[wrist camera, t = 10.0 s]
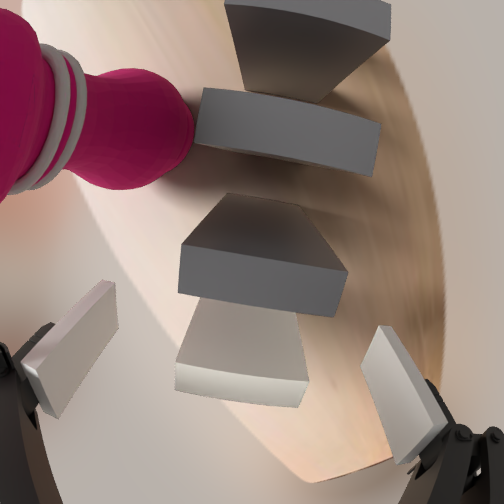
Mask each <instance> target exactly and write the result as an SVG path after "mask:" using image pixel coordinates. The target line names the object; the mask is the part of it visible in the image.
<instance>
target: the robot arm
mask: <svg viewBox="0 0 504 504" xmlns="http://www.w3.org/2000/svg"><path fill="white" fill-rule="evenodd" d="M118 329H119V328H118V318H117V306H116V289H115V283H114V282H110V281H105V280H101V281H100V282H99V283H98V284H97V285H96V286H95V287H94V288H93V289H92V290H90V291H89V292H88V293H87V294H86V295H85V296H84V297H83V298H82V299H81V300H80V301H79V302H78V303H77V304H76V305H75V306H74V307H72V309H70V310H69V311H68V312H67V314H65V315H64V316H63V317H62V318H61V319H60V320H59V321H58V323H56V324H54V323H51V322H50V323H48V324H46V325H45V326H43V327H41V328H40V329H39V330H38V331H37V332H36V333H35V335H33V336H32V337H31V338H30V339H29V341H27V342H26V343H25V344H24V345H23V346H22V347H21V348H20V349H19V350H18V351H17V352H16V353H15V355H14V356H13V357H12V358H11V355H10V353H9V350H8V347H7V346H6V345H5V344H4V343H1V342H0V504H63V502H62V499H61V497H60V494H59V491H58V489H57V486H56V483H55V480H54V477H53V474H52V471H51V468H50V465H49V461H48V458H47V454H46V451H45V446H44V443H43V439H42V434H41V430H40V425H39V420H38V414H37V411H36V409H35V408H36V406H37V405H38V403H39V404H40V406H41V408H42V410H43V412H45V413H47V414H49V415H51V416H53V417H55V418H57V419H59V417H60V416H61V414H62V413H63V411H64V409H65V408H66V406H67V405H68V403H69V401H70V399H71V398H72V397H73V395H74V393H75V392H76V390H77V389H78V387H79V386H80V384H81V383H82V381H83V379H84V378H85V376H86V375H87V373H88V372H89V370H90V369H91V367H92V366H93V365H94V363H95V361H96V360H97V359H98V357H99V356H100V354H101V353H102V351H103V350H104V348H105V347H106V345H107V344H108V343H109V341H110V340H111V338H112V337H113V336H114V334H115V333H116V331H117V330H118ZM360 367H361V370H362V372H363V375H364V377H365V380H366V382H367V385H368V387H369V390H370V393H371V395H372V398H373V401H374V403H375V406H376V409H377V411H378V414H379V417H380V420H381V422H382V425H383V428H384V431H385V434H386V436H387V439H388V442H389V445H390V448H391V451H392V454H393V457H394V460H395V463H396V465H400V464H405V463H410V462H411V461H413V460H414V459H415V458H416V456H418V455H419V457H420V459H421V460H420V461H419V462H418V463H417V464H416V465H415V466H414V467H413V468H411V469H410V470H409V471H408V473H407V474H410V473H411V472H412V471H414V472H413V474H412V476H411V479H410V481H409V483H408V485H407V487H406V489H405V491H404V494H403V495H402V497H401V500H400V501H399V503H398V504H504V434H503V432H502V431H501V430H500V429H499V428H497V427H489V428H488V429H487V430H486V431H485V432H484V433H483V434H473V433H472V431H471V430H470V429H469V428H468V427H467V426H465V425H462V424H456V422H455V421H454V419H453V417H452V415H451V413H450V411H449V410H448V408H447V406H446V405H445V403H444V402H443V399H442V397H441V396H439V392H438V391H437V389H436V387H435V386H434V385H433V384H432V383H431V382H430V381H429V380H428V379H424V378H423V376H422V375H421V373H420V371H419V370H418V368H417V366H416V365H415V363H414V361H413V360H412V358H411V357H410V355H409V353H408V352H407V350H406V348H405V347H404V345H403V344H402V342H401V341H400V339H399V337H398V336H397V334H396V333H395V331H394V330H393V328H392V327H391V326H384V325H379V326H378V328H377V331H376V333H375V335H374V337H373V340H372V342H371V344H370V346H369V348H368V351H367V353H366V355H365V357H364V359H363V361H362V363H361V365H360ZM480 468H481V473H480V474H479V475H478V476H477V474H476V471H477V470H479V469H480Z"/></svg>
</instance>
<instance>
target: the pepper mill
mask: <svg viewBox="0 0 504 504" xmlns="http://www.w3.org/2000/svg"><path fill="white" fill-rule="evenodd" d="M193 138H194V121H193V117H192V114H191V112H190V110H189V108H188V107H187V105H186V104H185V103H184V102H183V99H182V97H181V95H180V94H179V92H178V91H177V89H176V88H175V87H174V85H172V84H171V83H170V82H169V81H168V80H167V79H165V78H163V77H161V76H160V75H158V74H156V73H153V72H150V71H147V70H144V69H135V68H129V69H119V70H114V71H110V72H107V73H104V74H101V75H98V76H93V75H89V74H85V73H84V72H83V70H82V68H81V66H80V64H79V62H78V61H77V60H76V59H75V58H74V57H73V56H72V55H70V54H69V53H68V52H65V51H62V50H57V49H56V48H54V47H53V46H50V45H47V44H39V42H38V38H37V35H36V32H35V31H34V30H33V28H32V27H31V26H30V24H29V23H28V22H27V21H26V20H24V19H23V18H22V17H20V16H19V15H17V14H15V13H13V12H11V11H9V10H7V9H2V8H0V203H1V202H2V201H3V200H4V198H5V197H6V195H14V194H18V193H21V192H23V191H25V190H35V189H38V188H40V187H42V186H44V185H46V184H47V183H49V182H50V181H51V180H53V179H54V177H56V176H57V175H58V173H59V172H60V171H61V170H62V169H67V170H70V171H71V172H73V173H75V174H76V175H78V176H80V177H81V178H83V179H84V180H86V181H87V182H89V183H91V184H94V185H96V186H99V187H103V188H106V189H111V190H127V189H135V188H139V187H143V186H145V185H147V184H150V183H152V182H153V181H155V180H156V179H158V178H159V177H161V176H162V175H163V174H164V173H166V172H168V171H170V170H172V169H173V168H175V167H176V166H177V165H178V164H179V163H181V161H182V160H183V159H184V158H185V156H186V155H187V153H188V152H189V150H190V148H191V145H192V142H193Z"/></svg>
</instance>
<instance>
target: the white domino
mask: <svg viewBox="0 0 504 504" xmlns="http://www.w3.org/2000/svg"><path fill="white" fill-rule="evenodd" d="M308 384H309V377H308V372H307V367H306V362H305V356H304V351H303V346H302V341H301V336H300V331H299V326H298V322H297V317H296V312H289V311H281V310H275V309H268V308H261V307H255V306H249V305H243V304H237V303H231V302H225V301H219V300H213V299H208V298H202V297H200V300H199V302H198V305H197V307H196V310H195V312H194V315H193V317H192V320H191V322H190V325H189V327H188V330H187V332H186V335H185V337H184V340H183V343H182V345H181V348H180V350H179V353H178V356H177V358H176V361H175V390H176V391H181V392H185V393H190V394H195V395H200V396H206V397H211V398H217V399H223V400H229V401H236V402H243V403H251V404H259V405H269V406H279V407H292V408H298V407H299V405H300V402H301V400H302V398H303V395H304V393H305V391H306V388H307V386H308Z"/></svg>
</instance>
